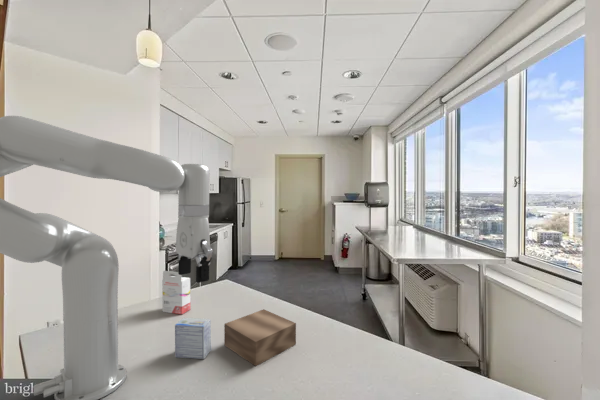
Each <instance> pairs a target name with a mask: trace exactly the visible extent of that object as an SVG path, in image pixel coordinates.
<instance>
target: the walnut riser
mask: <svg viewBox="0 0 600 400" xmlns="http://www.w3.org/2000/svg"><path fill="white" fill-rule="evenodd" d="M223 326H224V327H223V328H224V330H223V331H224V333H223V334H224V339H223V340H224V347H227V348H228V349H229V350H231V351H233V352H234V353H235V354H237V355H239V356H240V357H241V358H243V359H244V360H246V361H247V362H249V363H250V364H252V365H253V366H255V367H257V366H259V365H261V364H262V363H264V362H266V361H268V360H270V359H272V358H274V357H275V356H277V355H279V354H281V353H283V352H284V351H287V350H288V349H290V348H292V347H294V346H295V345H297V323H296V322H294V321H292V320H289V319H288V318H285V317H283V316H280V315H278V314H275V312H274V313H273V312H271V311H268V310H266V309H261V310H258V311H256V312H252V313H250V314H247V315H245V316H241V317H239V318H237V319H233V320H231V321H229V322H226V323H224V325H223Z"/></svg>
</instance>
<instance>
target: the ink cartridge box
mask: <svg viewBox="0 0 600 400" xmlns="http://www.w3.org/2000/svg"><path fill="white" fill-rule="evenodd" d="M178 272H179V271H171V270H163V271H162V282H161V283H162V292H161V293H162V313H167V314H168V313H169V314H176V315H183V314H185V313H187V312H189V311H190V310H191V309H192V308H191V277H188V276H187V277H185V276H184V277H183V275H179V273H178Z"/></svg>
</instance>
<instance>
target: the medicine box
mask: <svg viewBox="0 0 600 400" xmlns="http://www.w3.org/2000/svg"><path fill="white" fill-rule="evenodd" d="M211 326H212V325H211V319H210V318H193V317H183V318H181V319H180V320H179V321H178V322H177V323H175V324H174V357H175V358H176V359H177V358H179V359H180V358H182V359H197V360H199V359H200V360H205V358H206V357H207V356H208V355H209V353H210V352H211V350H212V339H211V338H212V336H211V335H212V331H211V328H212V327H211Z"/></svg>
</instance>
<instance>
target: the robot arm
mask: <svg viewBox="0 0 600 400" xmlns="http://www.w3.org/2000/svg"><path fill="white" fill-rule="evenodd" d="M34 165H35V166H39V167H42V168H43V167H44V168H48V169H52V170H57V171H60V172H66V173H69V174H73V175H78V176H82V177H85V178H92V179H99V180H100V179H102V180H103V179H104V180H114V181H119V182H125V183H129V184H135V185H138V186H142V187H145V188H146V187H147V188H148V189H150V190H151V191H153V192H156V193H157V192H158V193H167V192H168V193H169V192H173V191H178V198H177V199H178V200H177V201H178V203H177V204H178V206H177V207H178V211H177V212H178V213H177V215H178V216H177V218H178V219H177V225H176V234H175V235H176V239H175V252H176V254H177V255H178V256H177V259H178V271H177V272H178V273H179V275H182V276H183V275H189V274H190V273H191V271H192V259H193V258H194V259H195V261H196V264H197V266H195V282H196V284H197V283H198V284H199V283H205V282H207V281H209V280H210V265H211V261H212V259H213V258H212V256H213V254H214V250H213V248H212V246H211V238H210V237H211V236H210V235H211V234H210V225H209V224H210V222H209V217H210V178H211V177H210V175H211V174H210V168H209V167H208V166H207V165H205V164H201V163H183V164H182V165H181V164H180V163H179V162H178V161H176V160H174V159H172V158H170V157H166V156H164V155H160V154H157V153H154V152H151V151H146V150H144V149H140V148H137V147H132V146H129V145H124V144H119V143H115V142H112V141H108V140H103V139H100V138H97V137H93V136H89V135H86V134H83V133H78V132H76V131H72V130H69V129H65V128H62V127H59V126H56V125H52V124H50V123H45V122H42V121H40V120H36V119H33V118H28V117H25V116H19V115H4V116H1V117H0V178H2V177H4V176H7V175H10V174H13V173H15V172H18V171H21V170H22V171H23V170H24V169H27V168H28V167H31V166H34ZM0 254H1V255H4V256H6V257H8V258H11V259H13V260H16V261H19V262H23V263H31V264H33V263H34V264H35V263H41V262H44V261H45V262H47V263H50V264H53V265H56V266H59V267H61V289H62V315H63V316H62V321H63V368H61V369H59V373H60V374H59V375H56V376H54V378H52V379H50V380H47V381H43V382H40V383H37V384H34V385H33V396H34V397H36V396H38V395H41V394H43V398H47V397H50V396H52V395H54V396H53V397H54V400H99V399H103V398H104V397H106V396H108V395H110V394H112V393H113V392H114V391H116V390H117V389H118V388H119V387H120V386H122V384H123V383H124V382H125V381H126V377H127V370H126V368H125V366H123V365H121V364H119V308H118V307H119V306H118V304H119V302H118V301H119V300H118V298H119V297H118V295H119V294H118V290H119V289H118V288H119V287H118V286H119V267H120V266H119V258H118V254H117V252H116V249H115V248H114V245H113V244H112V243H111V242H110V241H109V240H108V239H106V238H104V237H103V236H101V235H98V234H97V233H94V232H92V231H89V230H88V229H86V228H83V227H81V226H79V225H77V224H75V223H73V222H70V221H68V220H66V219H64V218H61V217H60V216H57V215H53V214H52V213H51V214H50V213H45V212H44V213H43V212H37V213H35V212H33V211H32V212H31V211H29V210H27V209H25V208H22V207H19V206H18V205H15V204H13V203H11V202H9V201H6V200H5V199H3V198H1V197H0ZM201 258H202V259H201Z"/></svg>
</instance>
